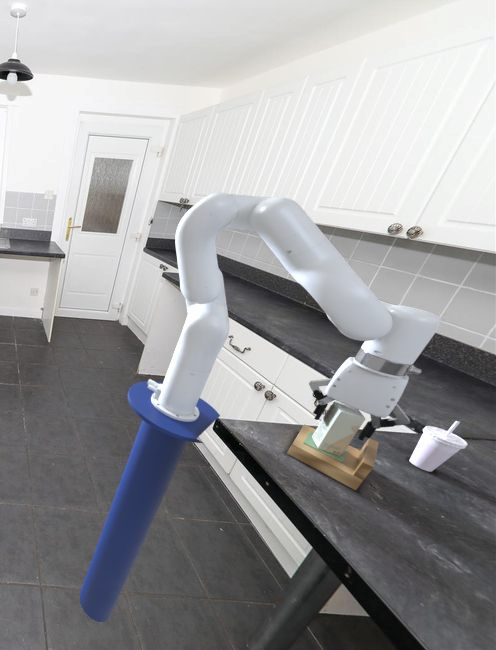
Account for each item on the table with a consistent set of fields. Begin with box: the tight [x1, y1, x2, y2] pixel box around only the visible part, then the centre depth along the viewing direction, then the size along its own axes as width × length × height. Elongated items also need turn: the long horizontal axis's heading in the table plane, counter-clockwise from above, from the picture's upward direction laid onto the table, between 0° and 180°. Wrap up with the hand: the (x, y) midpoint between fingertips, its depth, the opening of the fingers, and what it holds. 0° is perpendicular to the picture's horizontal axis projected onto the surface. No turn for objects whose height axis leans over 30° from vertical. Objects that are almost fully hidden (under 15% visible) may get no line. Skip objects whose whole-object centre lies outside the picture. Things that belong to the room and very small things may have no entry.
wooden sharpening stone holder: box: [286, 423, 380, 491], centre depth 79 cm, size 12×13×7 cm
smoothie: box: [409, 420, 469, 473], centre depth 78 cm, size 6×6×14 cm
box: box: [312, 400, 366, 456], centre depth 77 cm, size 5×4×11 cm
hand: (338, 426), depth 77 cm, fingers open, 6 cm apart
